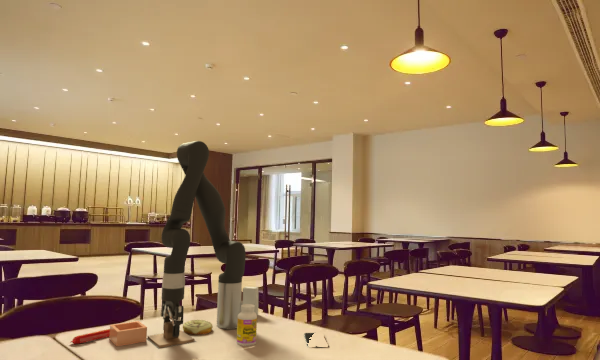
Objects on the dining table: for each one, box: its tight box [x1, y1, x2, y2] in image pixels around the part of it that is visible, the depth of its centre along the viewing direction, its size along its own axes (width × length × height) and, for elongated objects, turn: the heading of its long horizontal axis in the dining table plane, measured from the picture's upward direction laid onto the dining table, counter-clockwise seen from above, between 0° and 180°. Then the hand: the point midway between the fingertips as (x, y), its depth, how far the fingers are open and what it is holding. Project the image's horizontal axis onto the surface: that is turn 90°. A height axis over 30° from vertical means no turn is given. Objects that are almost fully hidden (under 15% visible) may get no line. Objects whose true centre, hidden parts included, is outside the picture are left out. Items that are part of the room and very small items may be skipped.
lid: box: [147, 320, 196, 349], centre depth 138 cm, size 12×12×6 cm
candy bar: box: [69, 328, 110, 345], centre depth 137 cm, size 16×4×3 cm, turn 144°
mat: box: [146, 337, 197, 350], centre depth 137 cm, size 13×13×1 cm
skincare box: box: [242, 285, 259, 316], centre depth 175 cm, size 6×4×12 cm
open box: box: [108, 320, 148, 347], centre depth 136 cm, size 10×10×5 cm
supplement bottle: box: [236, 304, 258, 347], centre depth 137 cm, size 7×7×13 cm
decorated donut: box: [182, 319, 214, 335], centre depth 149 cm, size 10×11×4 cm
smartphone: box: [303, 332, 315, 347], centre depth 141 cm, size 7×1×15 cm
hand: (171, 333), depth 137 cm, fingers open, 8 cm apart
